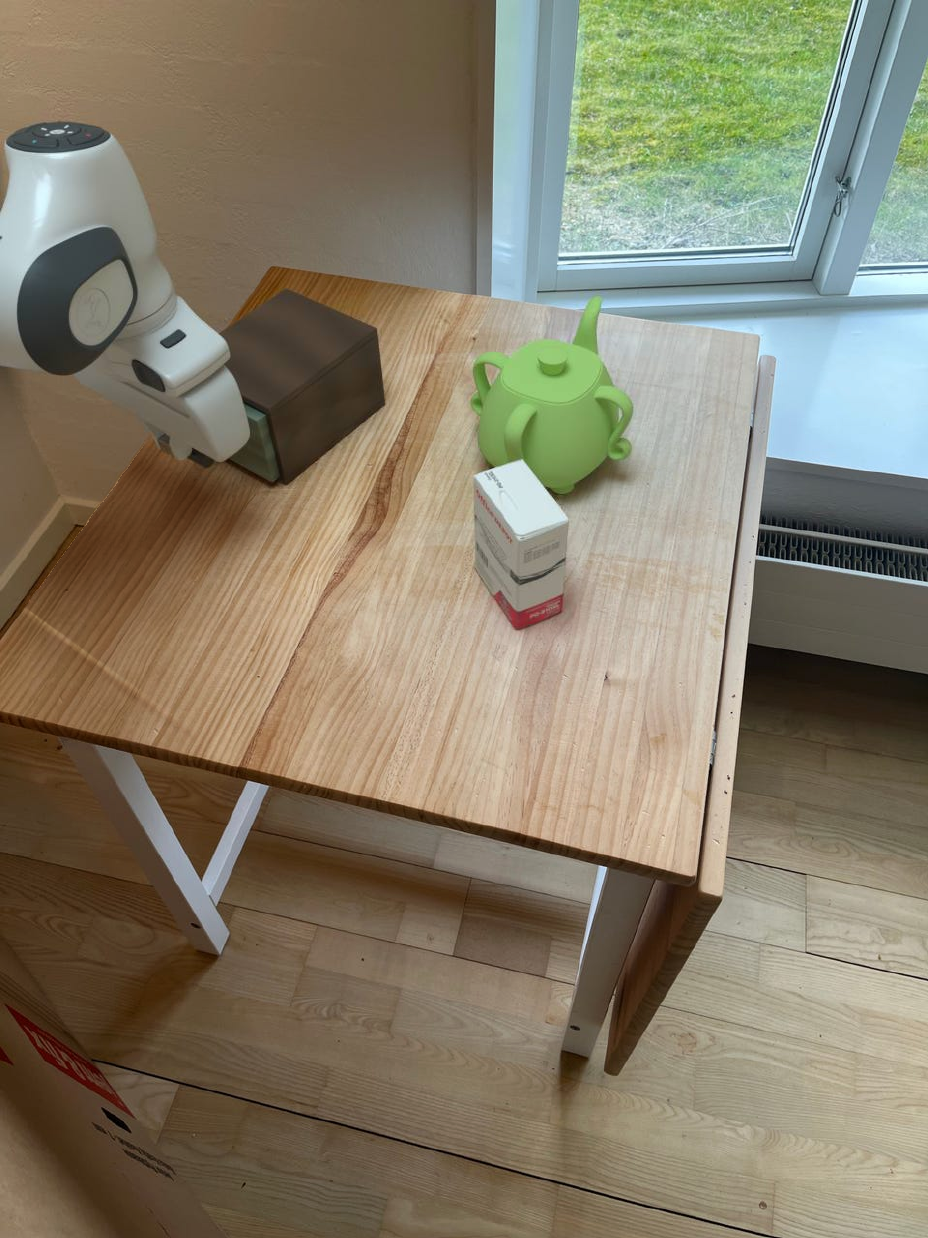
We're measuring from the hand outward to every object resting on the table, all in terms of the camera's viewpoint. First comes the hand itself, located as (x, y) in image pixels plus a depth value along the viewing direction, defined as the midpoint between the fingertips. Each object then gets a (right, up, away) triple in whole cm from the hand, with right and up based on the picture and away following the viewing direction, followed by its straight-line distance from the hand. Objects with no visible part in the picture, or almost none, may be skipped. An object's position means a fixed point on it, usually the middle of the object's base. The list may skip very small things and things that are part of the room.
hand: (175, 451), depth 89 cm
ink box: (+32, -13, -3) cm, 35 cm away
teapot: (+36, +1, +8) cm, 37 cm away
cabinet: (+9, +6, +12) cm, 16 cm away
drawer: (+6, +3, +9) cm, 12 cm away
